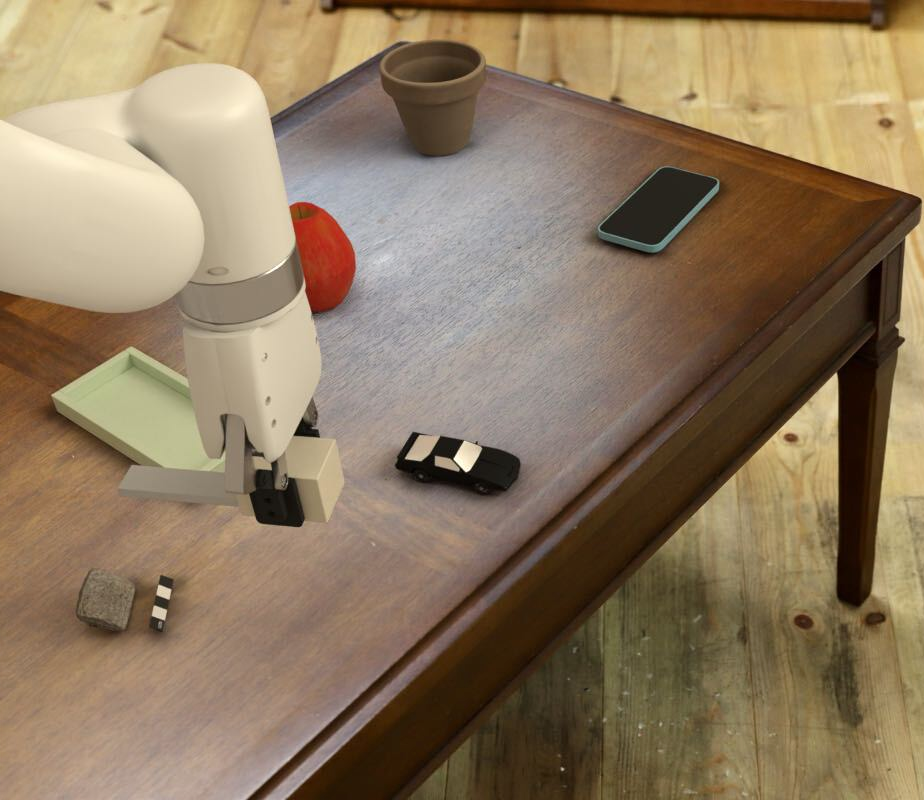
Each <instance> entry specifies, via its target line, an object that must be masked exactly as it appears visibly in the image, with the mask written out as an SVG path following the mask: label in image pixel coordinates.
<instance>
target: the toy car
mask: <svg viewBox="0 0 924 800" xmlns="http://www.w3.org/2000/svg"><path fill="white" fill-rule="evenodd" d="M396 459H397V460H396V462H395V464H394V467H395V469H396V470H397V471H400V472H403V473H406V474H408V475H412V476H413V478H414V479H415V480H416V481H417V482H419V483H423V484H426V483H428V482H429V481H430V479H431V481H436V482H441V483H445V484H450V485H454V486H459V487H463V488H464V487H465V488H469V489H473V490H474V491H475V492H476V493H477V494H479V495H482V496H486V495H488V494H489V493H490V492H491V490H493V491H497V492H498V491H499V492H507V491H508V490H509V489H510V488H511V487H512V486H513V485H514V484H515V482H516V481H517V480H518V479H519V474H520V469H521V465H522V463H521V459H520V458H519V457H518V456H516V455H515V454H512V453H510V452H509V451H505V450H503V449H500V448H496V447H491V446H486V445H481V444H479V441H478V440H476V441H475V442H471V441H468V440H465V439H460V438H455V437H449V436H445V435H431V434H427V433H421V432H419V431H418V432H417V431H412V432H411V434H410V436H409V437H408V438H407V440H406V441H405V443H404V444H403V446H402V448H401V449H400V451H399V453H398V454H397V456H396Z"/></svg>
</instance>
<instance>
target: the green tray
mask: <svg viewBox="0 0 924 800" xmlns="http://www.w3.org/2000/svg"><path fill="white" fill-rule="evenodd" d="M50 396H51V398H52V399H51V400H52V401H53V405H54V407H55V409H56V412H57V413H59V414H61V415H62V416H63V417H65V418H67V419H68V420H70V421H71V422H72V423H74V424H76V425H77V426H79V427H81V428H82V429H84V430H86V431H87V432H88V433H90V434H92V435H93V436H94V437H96V438H97V439H99V440H101V441H102V442H104V443H105V444H107V445H108V446H110V447H112V448H113V449H115V450H116V451H117V452H119V453H120V454H123V455H124V456H125V457H127V458H129V459H130V460H132V461H134V462H135V463H137V465H139V466H151V467H163V468H175V469H187V470H199V471H211V472H223V473H225V451H224V453H223V455H222V457H221V459H215V458H214V459H212V458H209V457H208V456H207V454H206V453H205V450H204V448H203V445H202V441H201V438H200V434H199V430H198V426H197V422H196V417H195V413H194V409H193V404H192V399H191V395H190V389H189V384H188V379H187V377H185V376H184V375H182V374H180V373H178V372H176V371H175V370H173V369H171V368H170V367H168V366H167V365H164V364H163V363H161V362H159V361H158V360H156V359H154V358H153V357H151V356H150V355H147V354H145V353H144V352H142V351H140V350H139V349H137V348H135V347H134V346H132V345H130V346H129V347H127V348H126V349H124V350H123V351H121V352H119V353H117V354H116V355H114V356H112V357H111V358H109V359H108V360H106V361H104V362H103V363H101V364H100V365H98V366H96V367H94V368H93V369H92V370H90V371H88V372H87V373H84V374H83V375H81V376H80V377H78V378H77V379H75V380H73V381H72V382H70V383H69V384H66V385H65V386H64V387H62V388H60V389H59V390H57V391H55V392H54V393H52V394H50Z"/></svg>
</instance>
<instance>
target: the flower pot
mask: <svg viewBox="0 0 924 800" xmlns="http://www.w3.org/2000/svg"><path fill="white" fill-rule="evenodd" d="M378 69H379V74H380V81H381V87H382V89H383V91H384V93H386V94H387V95H388V96H389V97H391V98H392V100H393V103H394V105H395V107H396V110H397V112H398V115H399V118H400V120H401V123H402V126H403V128H404V130H405V133H406V135H407V137H408V140H409V142H410V144H411V146H412V147H413V149H414V150H415V151H417V152H419V153H420V154H422V155H428V156H435V157H438V156H439V157H440V156H441V157H442V156H449V155H452V154H455V153H458V152H459V151H462V150H463V149H464V148H466V147H467V146H468V144H469V142H470V139H471V134H472V130H473V125H474V120H475V114H476V106H477V100H478V94H479V91H481V89H482V88H483V86H484V85H485V83H486V79H487V60H486V56H485V54H484V53H483V52H482V50H480V49H479V48H478V47H476V46H474V45H472V44H469V43H467V42H463V41H459V40H454V39H441V38H440V39H435V38H434V39H424V40H418V41H413V42H409V43H405V44H403V45H401V46H398V47H395V48H394V49H393V50H390V51H389V52H388V53H386V54H384V56H383V57H382V58H381V60H380V61H379V68H378Z"/></svg>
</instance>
